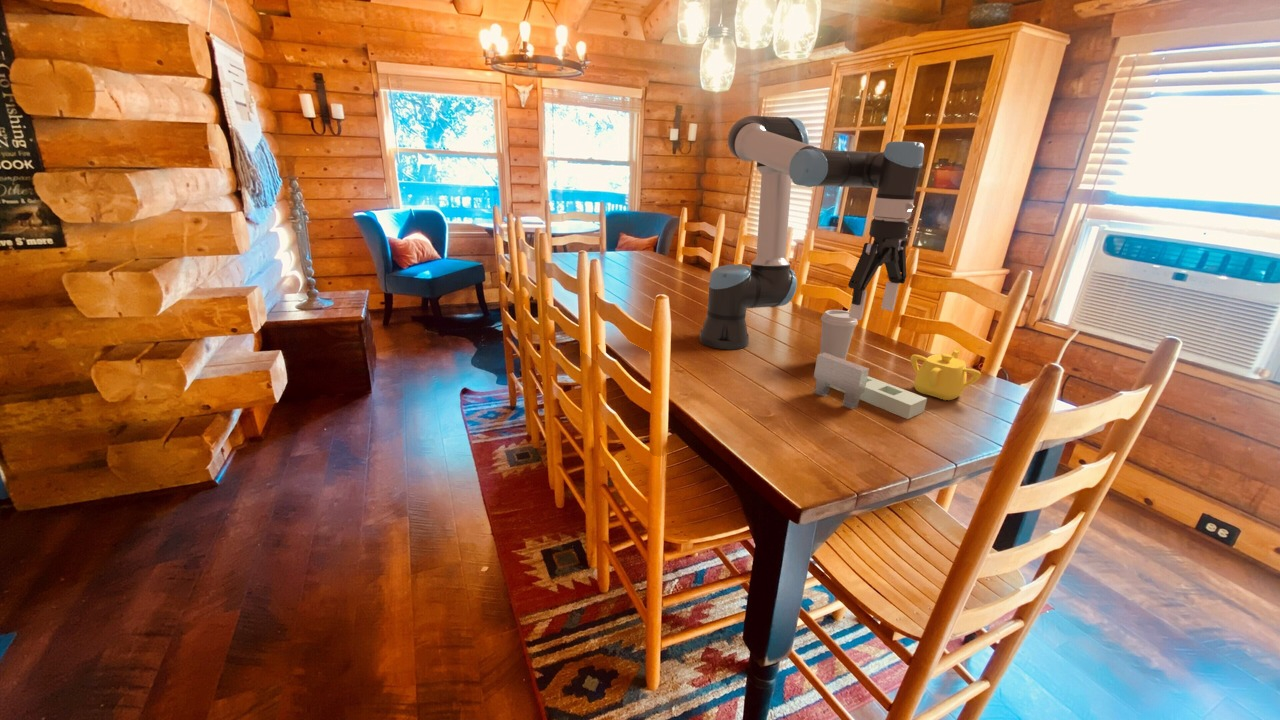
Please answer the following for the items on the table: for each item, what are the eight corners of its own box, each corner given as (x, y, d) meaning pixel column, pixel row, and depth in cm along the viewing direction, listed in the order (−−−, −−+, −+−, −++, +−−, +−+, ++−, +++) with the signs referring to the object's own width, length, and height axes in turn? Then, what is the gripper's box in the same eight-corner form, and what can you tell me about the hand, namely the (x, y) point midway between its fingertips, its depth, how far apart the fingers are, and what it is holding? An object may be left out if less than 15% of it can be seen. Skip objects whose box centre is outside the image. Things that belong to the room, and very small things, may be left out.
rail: (825, 384, 134) (827, 372, 133) (841, 379, 138) (844, 367, 137) (907, 419, 118) (910, 405, 117) (923, 411, 122) (927, 398, 120)
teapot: (899, 380, 139) (908, 343, 136) (949, 382, 139) (959, 346, 135) (922, 402, 127) (932, 363, 123) (977, 405, 126) (988, 366, 122)
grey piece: (811, 392, 130) (817, 354, 126) (818, 389, 131) (824, 352, 128) (853, 411, 121) (862, 371, 117) (861, 408, 122) (869, 368, 119)
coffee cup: (844, 359, 152) (853, 310, 146) (853, 372, 143) (863, 319, 138) (810, 357, 153) (818, 307, 147) (817, 370, 144) (826, 317, 138)
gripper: (876, 223, 103) (856, 326, 111) (935, 218, 117) (914, 310, 125) (842, 219, 109) (825, 317, 116) (903, 215, 123) (884, 302, 131)
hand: (871, 314), depth 121 cm, fingers open, 13 cm apart
